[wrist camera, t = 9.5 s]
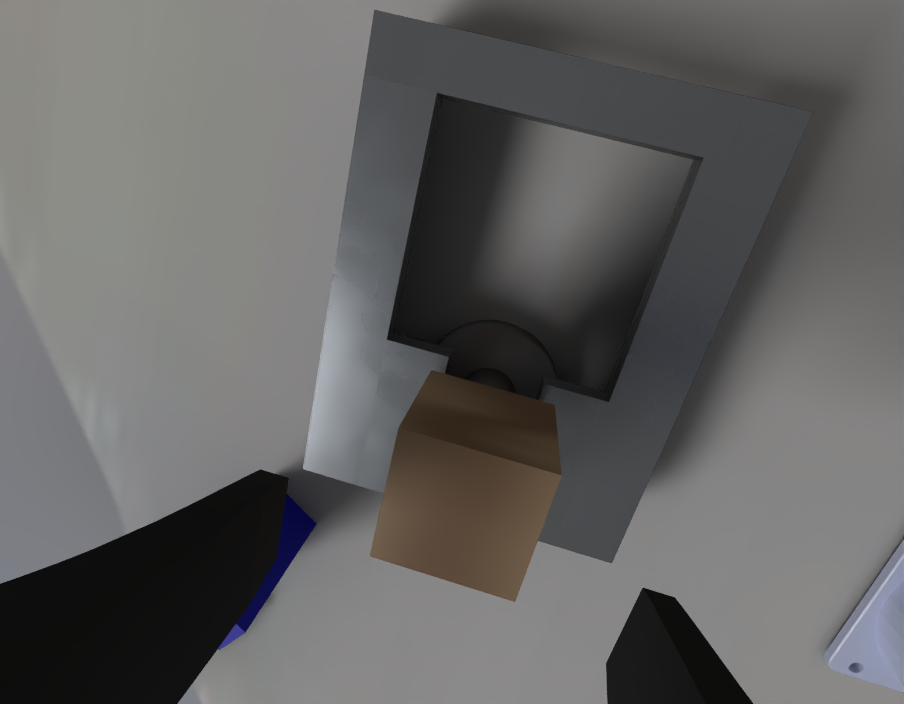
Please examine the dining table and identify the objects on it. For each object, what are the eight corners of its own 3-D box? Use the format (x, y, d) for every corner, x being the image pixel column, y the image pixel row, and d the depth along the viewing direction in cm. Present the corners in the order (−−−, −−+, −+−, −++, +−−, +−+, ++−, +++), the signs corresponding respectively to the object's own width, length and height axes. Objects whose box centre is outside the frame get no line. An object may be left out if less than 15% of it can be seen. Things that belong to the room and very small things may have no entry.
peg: (574, 340, 18) (605, 456, 10) (534, 456, 19) (535, 632, 12) (441, 304, 18) (373, 390, 10) (414, 421, 20) (338, 569, 12)
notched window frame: (752, 129, 15) (812, 111, 12) (598, 502, 19) (611, 563, 16) (406, 47, 16) (374, 9, 12) (338, 425, 20) (302, 469, 17)
